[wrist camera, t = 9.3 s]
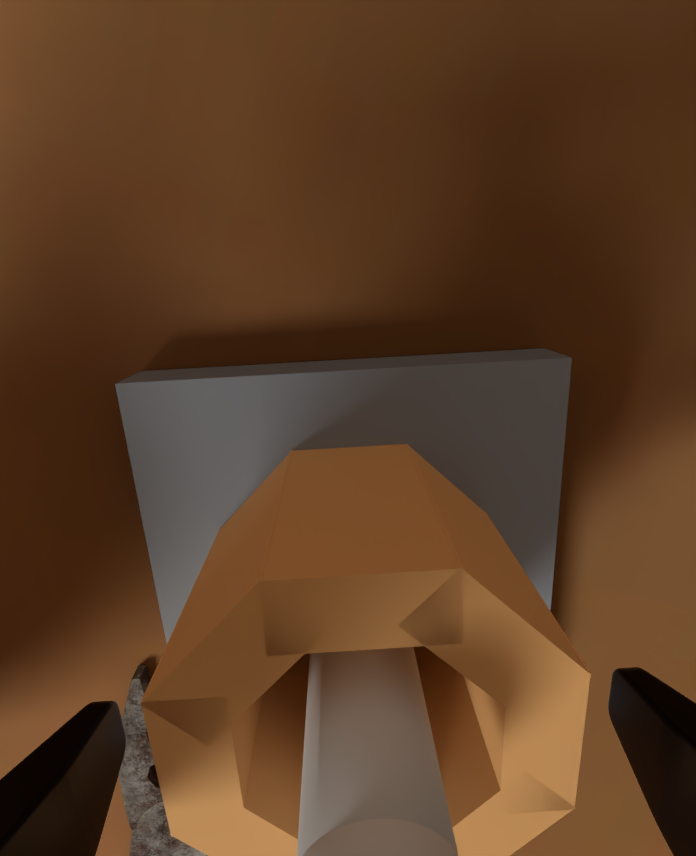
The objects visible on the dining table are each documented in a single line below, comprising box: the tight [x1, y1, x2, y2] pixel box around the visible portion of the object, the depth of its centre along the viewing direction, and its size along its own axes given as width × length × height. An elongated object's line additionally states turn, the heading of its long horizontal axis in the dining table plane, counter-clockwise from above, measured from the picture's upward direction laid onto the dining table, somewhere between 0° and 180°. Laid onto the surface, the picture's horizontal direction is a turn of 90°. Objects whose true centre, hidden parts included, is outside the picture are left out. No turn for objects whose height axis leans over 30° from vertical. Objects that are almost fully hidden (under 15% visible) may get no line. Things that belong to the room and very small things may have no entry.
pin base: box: [115, 348, 572, 856], centre depth 9 cm, size 10×10×9 cm
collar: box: [140, 444, 591, 856], centre depth 10 cm, size 6×6×5 cm
